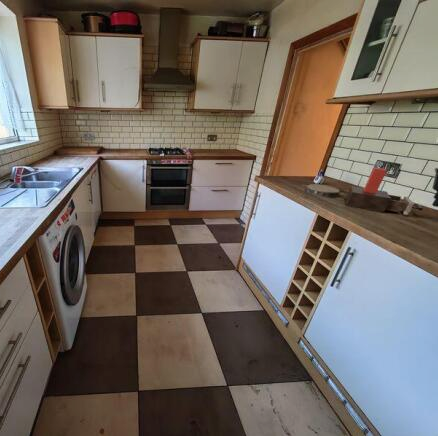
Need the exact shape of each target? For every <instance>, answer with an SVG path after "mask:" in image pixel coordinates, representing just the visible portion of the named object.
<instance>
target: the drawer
mask: <svg viewBox="0 0 438 436" xmlns="http://www.w3.org/2000/svg"><path fill="white" fill-rule="evenodd" d="M388 195H389V196H390V198H391V200H390V201H389V203H388V205H387V207H386V209H385V211H390V212H395V213H401V212H402V214H403V215H405V216H408V215H409V213H410V212H411V210H412V209H415V210H418V211H423V209H424V208H423V207H422V206H421V205H420V204H419V203H414V202H413V201H412V200H411V199H410V197H408V196H404V197H403V199H402V196H400V195H394V194H388ZM401 199H402V200H401Z"/></svg>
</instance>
